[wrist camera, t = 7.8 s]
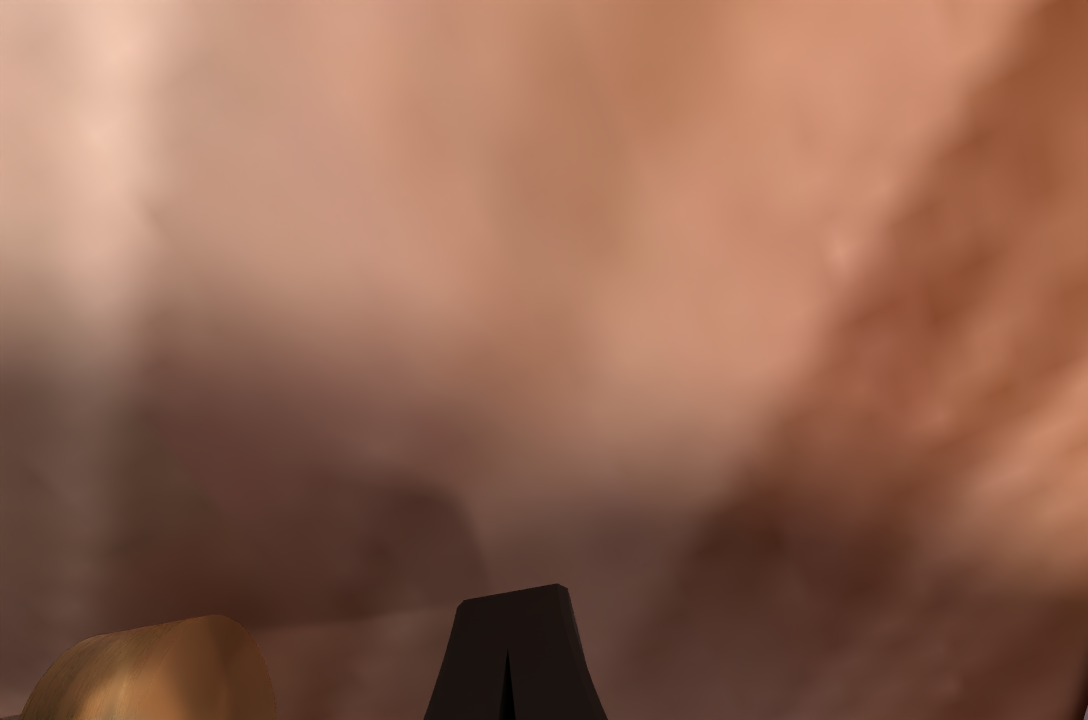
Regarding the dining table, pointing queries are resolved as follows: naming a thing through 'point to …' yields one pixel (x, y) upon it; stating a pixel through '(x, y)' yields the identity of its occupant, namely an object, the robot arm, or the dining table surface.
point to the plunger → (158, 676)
